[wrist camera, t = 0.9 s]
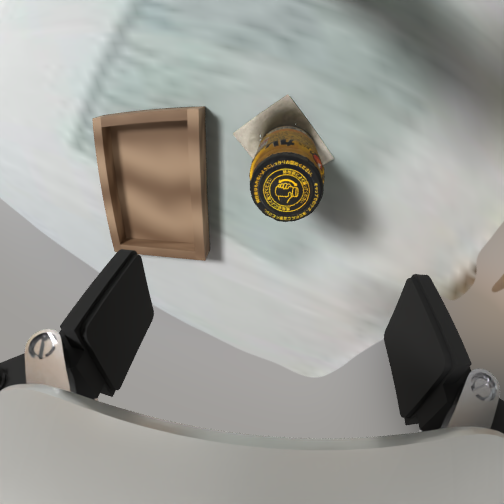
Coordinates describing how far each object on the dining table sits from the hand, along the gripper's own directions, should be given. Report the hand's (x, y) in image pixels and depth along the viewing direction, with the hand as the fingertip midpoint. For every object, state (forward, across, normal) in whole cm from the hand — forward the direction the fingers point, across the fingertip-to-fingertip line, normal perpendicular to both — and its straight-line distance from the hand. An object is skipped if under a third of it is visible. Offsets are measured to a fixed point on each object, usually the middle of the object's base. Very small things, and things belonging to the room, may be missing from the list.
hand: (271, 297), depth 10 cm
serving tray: (+24, +15, +5) cm, 29 cm away
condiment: (+24, 0, 0) cm, 24 cm away
